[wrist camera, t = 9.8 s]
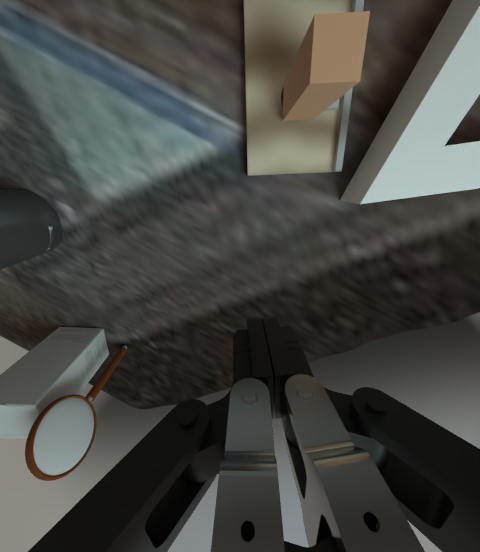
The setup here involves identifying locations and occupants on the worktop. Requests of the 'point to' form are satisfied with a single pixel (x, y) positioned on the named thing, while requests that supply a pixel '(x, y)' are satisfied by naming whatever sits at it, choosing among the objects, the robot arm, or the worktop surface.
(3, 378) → the skincare box
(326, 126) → the board
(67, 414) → the magnifying glass
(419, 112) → the triangle block
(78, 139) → the worktop surface
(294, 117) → the block
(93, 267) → the worktop surface
